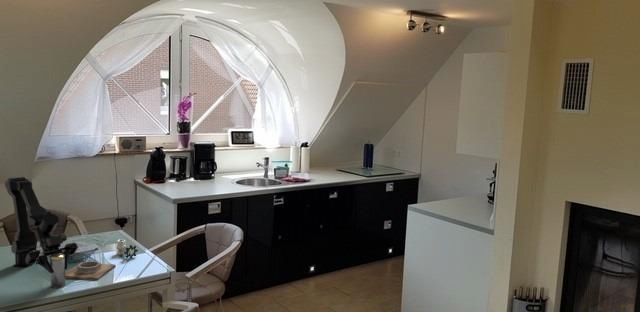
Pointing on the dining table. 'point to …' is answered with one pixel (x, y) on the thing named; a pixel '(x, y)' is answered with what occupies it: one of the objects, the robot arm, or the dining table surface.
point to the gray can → (57, 270)
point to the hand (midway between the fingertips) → (59, 270)
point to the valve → (125, 249)
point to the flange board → (89, 276)
